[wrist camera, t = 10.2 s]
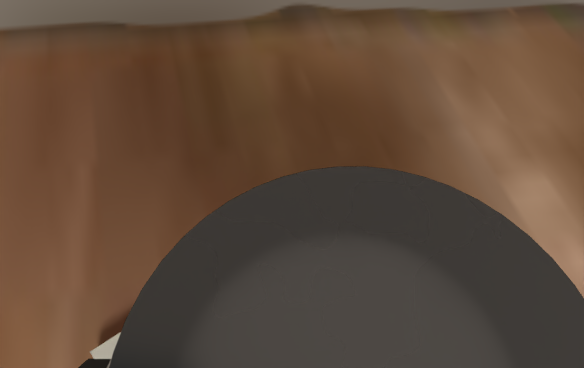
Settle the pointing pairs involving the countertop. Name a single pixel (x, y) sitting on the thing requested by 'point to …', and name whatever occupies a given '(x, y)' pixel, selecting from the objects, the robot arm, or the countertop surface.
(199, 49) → the countertop surface
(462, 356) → the grey ribbed cylinder
